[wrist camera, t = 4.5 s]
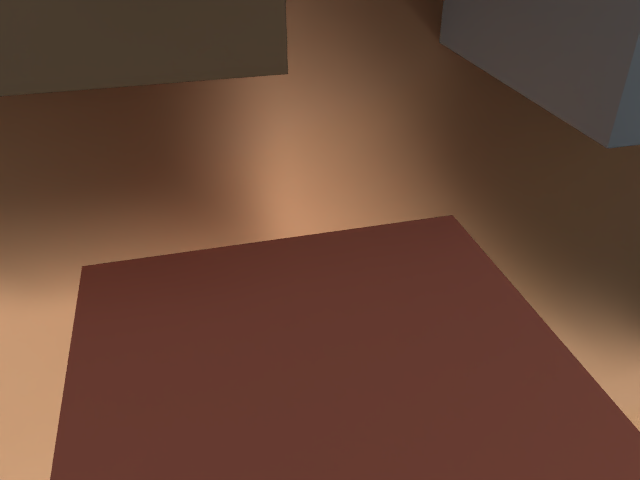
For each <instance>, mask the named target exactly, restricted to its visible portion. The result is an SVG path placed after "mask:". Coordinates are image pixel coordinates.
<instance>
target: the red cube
mask: <svg viewBox="0 0 640 480" xmlns="http://www.w3.org/2000/svg"><path fill="white" fill-rule="evenodd" d="M50 480H640V432H639V431H638V429H637V428H636V427H635V426H634V425H633V424H632V422H631V421H630V420H629V419H628V418H627V417H626V415H625V414H624V413H623V412H622V411H621V410H620V409H619V407H618V406H617V405H616V404H615V403H614V402H613V400H612V399H611V398H610V397H609V396H608V395H607V393H606V392H605V391H604V390H603V389H602V388H601V387H600V385H599V384H598V383H597V382H596V381H595V380H594V378H593V377H592V376H591V375H590V374H589V373H588V372H587V370H586V369H585V368H584V367H583V366H582V365H581V363H580V362H579V361H578V360H577V359H576V358H575V356H574V355H573V354H572V353H571V352H570V351H569V350H568V348H567V347H566V346H565V345H564V344H563V343H562V341H561V340H560V339H559V338H558V337H557V336H556V334H555V333H554V332H553V331H552V330H551V329H550V328H549V326H548V325H547V324H546V323H545V322H544V321H543V319H542V318H541V317H540V316H539V315H538V314H537V312H536V311H535V310H534V309H533V308H532V307H531V306H530V304H529V303H528V302H527V301H526V300H525V299H524V297H523V296H522V295H521V294H520V293H519V292H518V290H517V289H516V288H515V287H514V286H513V285H512V284H511V282H510V281H509V280H508V279H507V278H506V277H505V275H504V274H503V273H502V272H501V271H500V270H499V268H498V267H497V266H496V265H495V264H494V263H493V262H492V260H491V259H490V258H489V257H488V256H487V255H486V253H485V252H484V251H483V250H482V249H481V248H480V246H479V245H478V244H477V243H476V242H475V241H474V240H473V238H472V237H471V236H470V235H469V234H468V233H467V231H466V230H465V229H464V228H463V227H462V226H461V224H460V223H459V222H458V221H457V220H456V219H455V218H454V216H453V215H450V216H443V217H436V218H428V219H421V220H414V221H407V222H399V223H392V224H385V225H378V226H371V227H363V228H356V229H349V230H342V231H334V232H327V233H320V234H313V235H305V236H298V237H291V238H284V239H277V240H269V241H262V242H255V243H248V244H240V245H233V246H226V247H219V248H211V249H204V250H197V251H190V252H183V253H175V254H168V255H161V256H154V257H146V258H139V259H132V260H125V261H117V262H110V263H103V264H96V265H88V266H82V271H81V278H80V285H79V291H78V298H77V305H76V311H75V318H74V325H73V331H72V338H71V345H70V351H69V358H68V365H67V371H66V378H65V384H64V391H63V398H62V404H61V411H60V418H59V424H58V431H57V438H56V444H55V451H54V458H53V464H52V471H51V477H50Z"/></svg>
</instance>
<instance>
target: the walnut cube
mask: <svg viewBox="0 0 640 480" xmlns="http://www.w3.org/2000/svg"><path fill="white" fill-rule="evenodd" d="M281 74H288V59H287V28H286V0H0V96H10V95H23V94H36V93H49V92H62V91H75V90H88V89H101V88H113V87H126V86H139V85H152V84H165V83H178V82H191V81H204V80H217V79H230V78H242V77H255V76H268V75H281Z"/></svg>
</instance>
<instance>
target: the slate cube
mask: <svg viewBox="0 0 640 480" xmlns="http://www.w3.org/2000/svg"><path fill="white" fill-rule="evenodd" d="M439 43H441V44H442V45H444V46H446V47H447V48H449V49H450V50H452V51H454V52H455V53H457V54H458V55H460V56H461V57H463V58H465V59H466V60H468V61H469V62H471V63H473V64H474V65H476V66H477V67H479V68H480V69H482V70H484V71H485V72H487V73H488V74H490V75H492V76H493V77H495V78H496V79H498V80H499V81H501V82H503V83H504V84H506V85H507V86H509V87H511V88H512V89H514V90H515V91H517V92H519V93H520V94H522V95H523V96H525V97H526V98H528V99H530V100H531V101H533V102H534V103H536V104H538V105H539V106H541V107H542V108H544V109H545V110H547V111H549V112H550V113H552V114H553V115H555V116H557V117H558V118H560V119H561V120H563V121H564V122H566V123H568V124H569V125H571V126H572V127H574V128H576V129H577V130H579V131H580V132H582V133H583V134H585V135H587V136H588V137H590V138H591V139H593V140H595V141H596V142H598V143H599V144H601V145H602V146H604V147H606V148H615V147H624V146H632V145H640V0H444V1H443V11H442V21H441V30H440V40H439Z"/></svg>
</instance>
